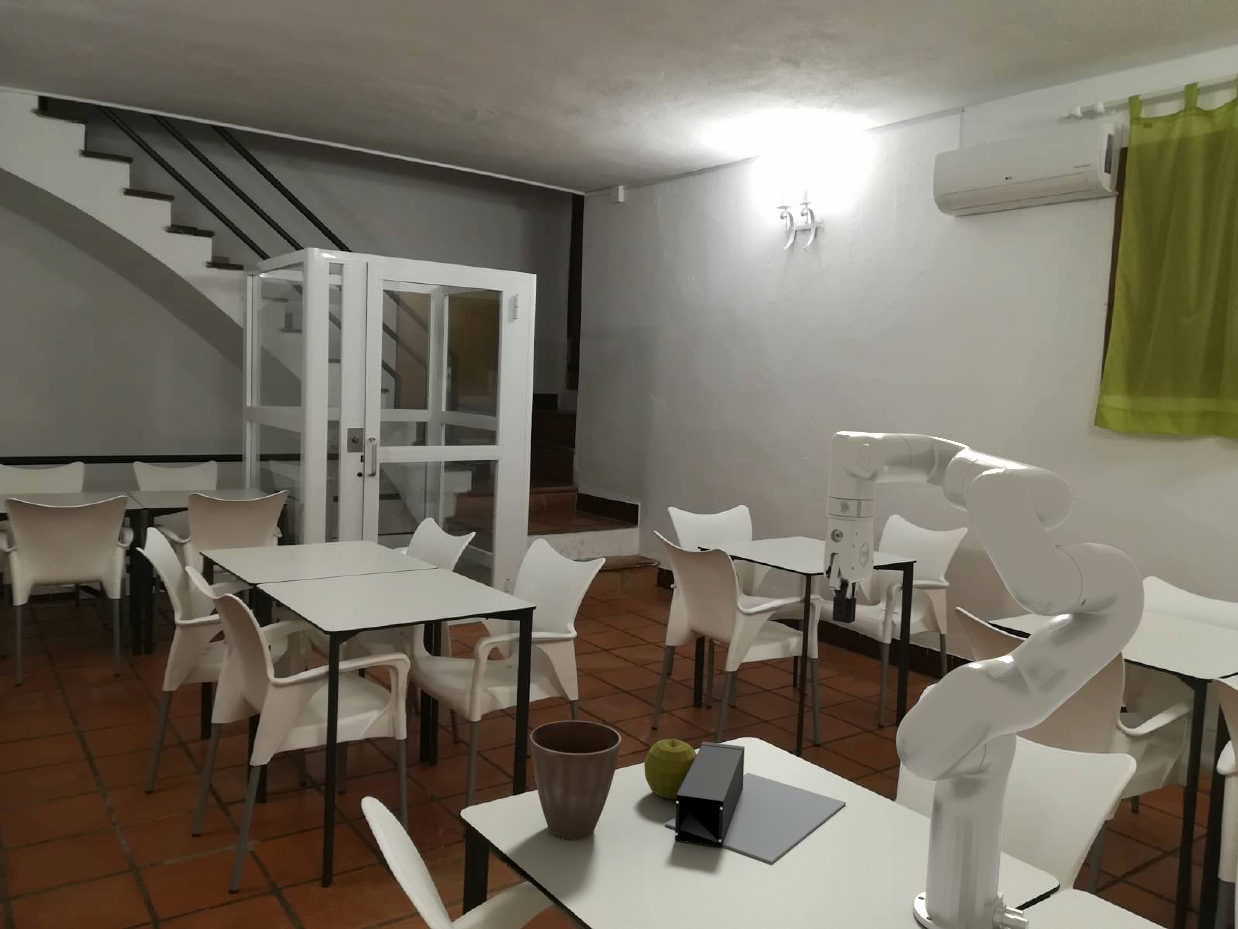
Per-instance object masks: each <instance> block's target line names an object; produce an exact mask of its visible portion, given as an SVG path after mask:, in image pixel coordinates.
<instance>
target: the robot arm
mask: <svg viewBox="0 0 1238 929" xmlns="http://www.w3.org/2000/svg"><path fill="white" fill-rule="evenodd" d="M829 444H830V445H829V447H830V448H829V461H828V464H829V465H828V475H827V476H828V480H827V495H826V496H827V498H826V510H825V512H826V513H825V516H826V517H827V518H828V522H827V526H826V527H827V529H826V535H825V543H824V552H823V553H824V554H823V576H824V577H825V578H826V579H827V580H829V583H828V588H829V589H831V590H832V597H833V606H832V621H835V622H839V623H845V624H851V623H854V622H856V621H855V620H856V607H857V597H858V593H859V584H860V583H861V582H862V581H863V580H864V579H867V578H870V576H872V575H873V574H874V560H875V558H874V557H875V552H874V551H875V549H874V548H875V544H874V542H875V539H874V538H875V534H874V532H875V531H874V520H875V510H876V509H875V508H876V496H877V494H876V492H877V483H878V484H879V483H880V484H881V483H883V484H884V483H891V484H893V483H920V484H925V485H930V486H933V487H937V488H940V489H942V493H943V496H944V498H945V500H946V501H947V503H948V504H949V505H950V506H951V507H952V508H954V509H957V510H959V511H960V510H961V511H964V512H966V513H967V517H968V519H969V522H970V523H971V525H972V528H973V530H974V531H975V534H976V536H977V537H978V539H979V541H980V543H981V545H982V547H983V549H984V551H985V552H986V554H987V556H988V557H989V559H990V561H991V563H992V564H993V566H994V568H995V570H996V571H997V572H996V573H998V575H999V577H1000V579H1001V581H1002V582H1003V584H1004V586H1005V588H1006V590H1007V591H1008V593H1009V594H1010V595H1011V597H1012V598H1013V599H1014V601H1015V602H1016V603H1017V604H1018V605H1020V606H1021V607H1022V608H1023V609H1024V610H1025V611H1028V612H1030V613H1031V614H1034V615H1037V616H1041V617H1052V618H1050V619H1049V620H1047V621H1046V622H1045V623H1043V624H1042V625H1040V626H1039V627H1037V628H1036V629H1035V630H1034V631H1033V632H1032V633H1031V634H1030V635H1029V637H1028V638H1027V639H1026V640H1024V641H1023V642H1022V643H1021V644H1020V645H1019V646H1017V647H1016V648H1015V649H1014V650H1012V651H1010V652H1009V653H1007V654H1005V655H1002V656H1000V657H995V658H991V659H984V660H977V661H974V662H969V663H966V664H963V665H960V666H958V667H956V668H955V669H953V670H950V672H948V673H947V674H946V675H945V676H943V677H942V678H941V679H940V680H939V681H938V682H937V683H936V684H935V685H934V686H933V687H932V688H931V689H930V690H929V691H928V692H927V693H926V694H925V695H924V696H923V697H922V698H921V699H920V700H919V701H918V702H917V703H916V704H915V705H914V706H912V708H911V709H910V710H909V711H908V712H907V713H906V714H905V716H904V717H903V718H902V720H901V722H900V723H899V726H898V729H897V731H896V737H895V738H896V739H895V740H896V741H895V742H896V744H895V745H896V751H897V755H898V757H899V759H900V761H901V764H902V765H903V766H904V768H905V769H906V770H907V771H908V772H910V774H912V775H913V776H915V777H917V778H919V779H922V780H926V781H932V782H934V785H933V790H932V797H931V808H930V821H929V822H930V823H929V835H928V836H929V840H928V848H927V849H928V851H927V853H928V854H927V866H926V878H925V879H926V880H925V883H926V884H925V891H923V892H920V893H919V894H918V895H916V897H915V898H914V899H913V903H912V912H913V915H914V917H915V918H916V919H917V921H918V922H919V923H920V924H921V925H922V926H924V927H925V928H927V929H1006V928H1007V929H1029V926H1030V921H1029V919H1027V918H1024V913H1025V912H1024V911H1023V910H1020V909H1017V908H1013V907H1010V906H1008V905H1007V903H1004V892H1003V891H999V880H1000V879H999V878H1000V866H1001V864H1000V863H1001V852H1002V838H1003V826H1004V825H1003V823H1004V814H1005V802H1006V794H1007V787H1008V782H1009V778H1010V774H1011V770H1012V766H1013V763H1014V760H1015V756H1016V751H1017V741H1018V740H1017V732H1021V731H1025V730H1028V729H1031V728H1033V727H1036V726H1038V725H1040V724H1041V723H1042V722H1043V721H1045V720H1046V719H1047V718H1049V716H1050V715H1052V713H1053V712H1055V711H1056V710H1057V709H1058V708H1059V707H1060V706H1061V705H1063V704H1064V703H1066V701H1068V699H1070V698H1071V697H1072V696H1074V695H1075V693H1077V691H1079V690H1080V689H1081V688H1082V687H1083V686H1084V685H1085V684H1086V683H1087V682H1088V681H1090V680H1091V679H1092V678H1093V677H1095V675H1096V674H1098V673H1099V672H1100V671H1101V670H1103V668H1104V667H1106V666H1107V665H1108V664H1110V663H1111V661H1113V660H1114V659H1116V657H1117V656H1118V655H1119V654H1120V653H1121V652H1122V651H1123V650H1124V649H1125V648H1126V646H1127V645H1129V643H1130V641H1131V640H1132V639H1133V637H1134V636H1135V634H1136V632H1137V630H1138V628H1139V626H1140V623H1141V621H1142V618H1143V614H1144V609H1145V608H1144V607H1145V589H1144V587H1145V586H1144V582H1143V578H1142V575H1141V573H1140V570H1139V568H1138V567H1137V565H1136V564H1135V562H1134V560H1132V558H1131V557H1130V556H1129V555H1128V554H1126V553H1125V552H1124V551H1122V550H1120V549H1118V548H1116V547H1113V546H1111V545H1107V544H1102V543H1095V542H1078V543H1069V544H1068V543H1067V544H1054V543H1053V540H1052V539H1051V538H1050V536H1049V534H1048V532H1049V531H1052V530H1054V529H1057V528H1058V527H1060V526H1062V524H1064V523H1065V522H1066V521H1067V520H1068V519H1069V517H1070V516H1071V514H1072V513H1073V509H1074V506H1075V495H1074V492H1073V489H1072V487H1071V485H1070V484H1069V482H1068V481H1067V480H1066V479H1065V478H1064V477H1062V476H1061V475H1059V474H1058V473H1056V472H1054V471H1052V470H1049V469H1047V468H1043V467H1039V466H1035V465H1033V464H1028V463H1024V462H1020V461H1015V460H1012V459H1009V458H1004V457H1000V456H997V455H992V454H988V453H985V452H982V451H977V450H975V449H973V448H971V447H970V446H968V445H965V444H964V443H963V444H962V443H959V442H955V441H951V440H948V439H944V438H939V437H936V436H932V435H931V436H930V435H928V434H927V435H926V434H919V433H918V434H917V433H887V432H886V433H881V432H880V433H879V432H877V433H871V432H862V431H861V432H860V431H838V432H835V433H834V434H833V435H832V437H831V438H830V443H829ZM1104 669H1105V668H1104Z"/></svg>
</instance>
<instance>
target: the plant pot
mask: <svg viewBox="0 0 1238 929" xmlns="http://www.w3.org/2000/svg"><path fill="white" fill-rule="evenodd" d="M529 740H530V750H531V759H532V767H533V773H534V779H535V780H534V781H535V784H536V787H537V793H538V798H539V802H540V806H541V809H542V812H543V815H544V816H543V817H544V818H545V822H546V825H547V828H548V830H549V833H550V832H551V833H552V834H551V833H550V834H551V835H552V836H554V835H555V836H554V837H556V838H558V837H559V839H561V838H564V839H563V840H566V839H570V840H569V841H577V839H579V840H583V839H582V838H584V839H586V838H588V837H590V836H591V835H592V834H593V833H594V831H595V829H596V826H597V825H598V823H599V821H600V818H601V816H602V812H603V810H604V807H605V805H606V802H607V799H608V795H609V793H610V790H611V786H612V783H613V781H614V776H615V772H616V768H617V763H618V759H619V754H620V749H621V742H622V737H621V734H620V733H619V732H618V731H617V730H615V729H614V728H612V727H610V726H607V725H604V724H602V723H596V722H593V721H585V720H560V721H553V722H548V723H545V724H542V725H540V726H537V727H536V728H534V729H533V730H532V731H531V733H530V735H529ZM574 839H575V840H574Z"/></svg>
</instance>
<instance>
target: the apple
mask: <svg viewBox="0 0 1238 929" xmlns="http://www.w3.org/2000/svg"><path fill="white" fill-rule="evenodd" d="M696 755H697V752H696V750H695V749H694V748H693V747H692V746H691V745H690V744H689V743H687V742H684V741H682V740H681V739H680V740H679V739H676V738H674V736H672V738H670V739H669V738H667V739H660V740H657V741H656V742H654V744H653V745H652V746H651V747H650V749H649V750H648V752H647V754H646V756H645V758H644V760H643V762H644V763H643V765H644V766H643V767H644V777H645V780H646V782H647V784H648V787H649V788H650V790H651V792H653V793H655V794H656V795H658V796H660V797H662V798H664V799H668V800H676V795H677V793H678V791H679V789H680V787H681V785H682V783H683V781H684V779H685V777H686V775H687V773H688V771H689V769H690V767H691V765H692V763H693V761H694V759H695V757H696Z"/></svg>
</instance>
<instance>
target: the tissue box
mask: <svg viewBox="0 0 1238 929" xmlns="http://www.w3.org/2000/svg"><path fill="white" fill-rule="evenodd" d="M745 748H746V747H745V746H743V745H742V746H741V745H734V744H726V743H717V742H711V741H709V742H708V741H702V743H701V744H700V747H699V749H698V751H697V752H696V754H697V755H696V757H695V759H694V761H693V763H692V765H691V767H690V769H689V771H688V773H687V775H686V777H685V779H684V781H683V783H682V785H681V787H680V789H679V791H678V793H677V795H676V799H675V817H676V821H675V829H674V832H675V833H674V841H677V842H684V843H690V844H695V845H696V844H697V845H704V846H711V847H717V848H722V847H723V842H724V840H725V837H726V834H727V831H728V828H729V825H730V822H731V820H732V817H733V814H734V811H735V808H736V805H737V802H738V799H739V797H740V794H741V791H742V789H743V775H745V773H744V771H745V770H744V769H745V767H744V766H745ZM688 811H689V812H690V813H691V814H692V815H693V816H694V817H695V818H696V819H697V820H698V821H699V822H700V823H701V824H702V825H703V826H704V827H705V828H706V829H707V830H708V831H709V832H710V833H711V834H712V835H713V836H714V837H715V838H716V839H717V840H718V842H716V841H713V840H710V839H707V838H704V837H701V836H698V835H696V834H693V833H690V832H687V831H684V830H681V829H680V828H681V826H682V824H683V822H684V819H685V817H686V815H687V813H688Z"/></svg>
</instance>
